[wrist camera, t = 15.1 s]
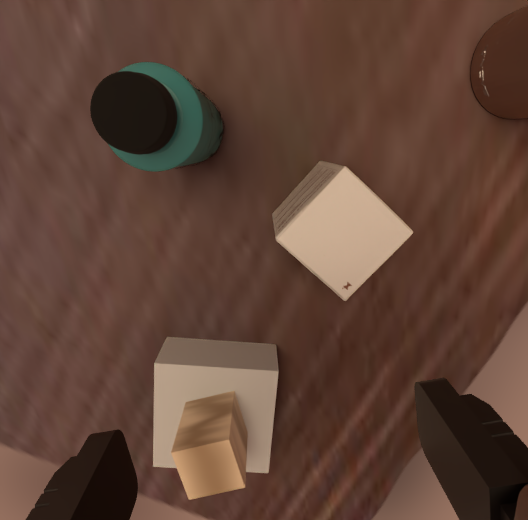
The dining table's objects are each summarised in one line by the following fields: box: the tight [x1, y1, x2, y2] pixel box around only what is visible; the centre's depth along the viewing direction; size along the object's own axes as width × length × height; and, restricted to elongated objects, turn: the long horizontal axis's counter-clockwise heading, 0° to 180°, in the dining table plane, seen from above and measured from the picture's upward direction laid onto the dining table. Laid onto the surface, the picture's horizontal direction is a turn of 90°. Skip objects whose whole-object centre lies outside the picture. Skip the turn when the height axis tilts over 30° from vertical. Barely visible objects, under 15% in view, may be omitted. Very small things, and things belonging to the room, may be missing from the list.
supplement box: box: [272, 161, 413, 301], centre depth 36 cm, size 7×7×13 cm
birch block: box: [171, 391, 248, 500], centre depth 38 cm, size 5×5×7 cm
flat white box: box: [153, 337, 279, 473], centre depth 45 cm, size 12×12×6 cm
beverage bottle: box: [90, 62, 224, 171], centre depth 30 cm, size 6×7×20 cm
